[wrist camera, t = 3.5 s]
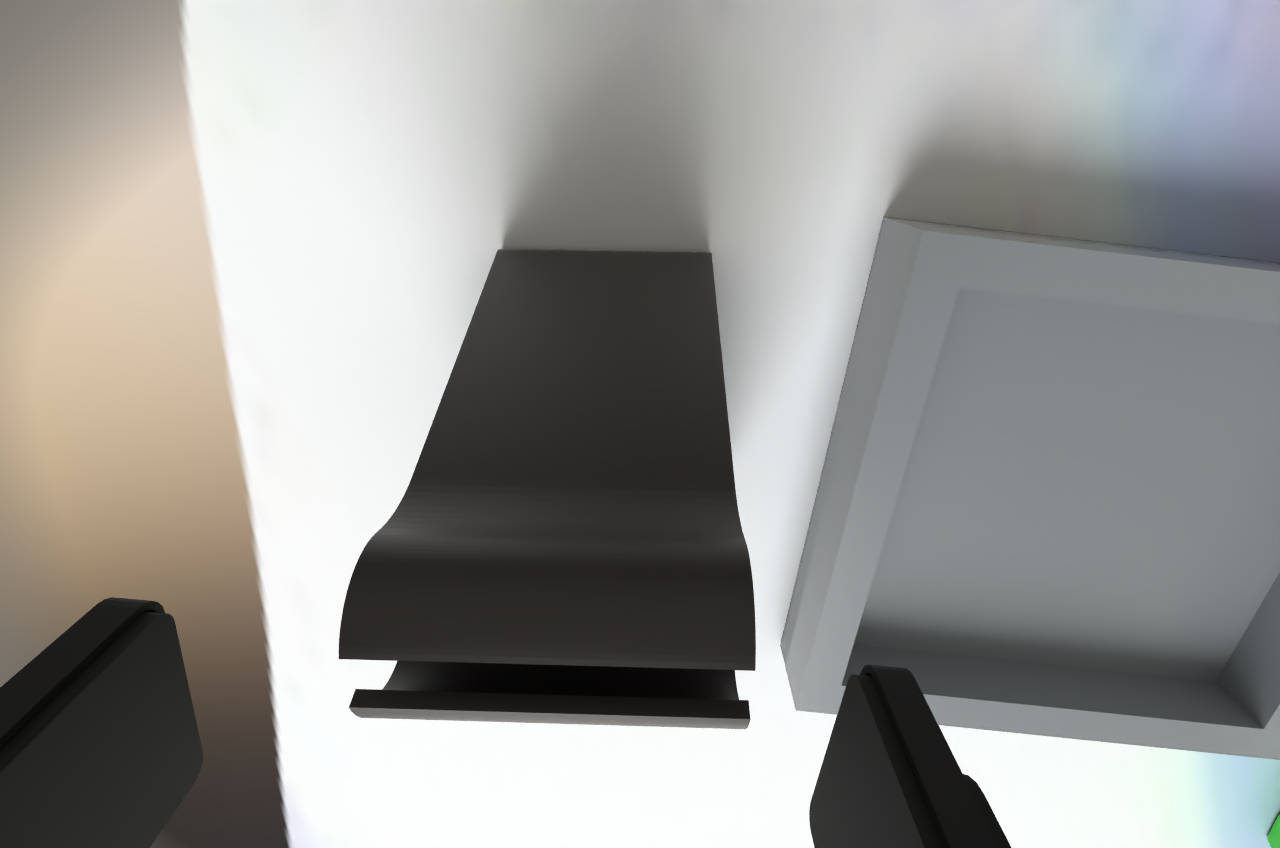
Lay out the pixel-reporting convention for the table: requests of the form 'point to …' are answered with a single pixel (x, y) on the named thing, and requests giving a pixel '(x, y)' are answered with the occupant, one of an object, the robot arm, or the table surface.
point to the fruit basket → (1275, 834)
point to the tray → (1054, 492)
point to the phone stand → (569, 512)
